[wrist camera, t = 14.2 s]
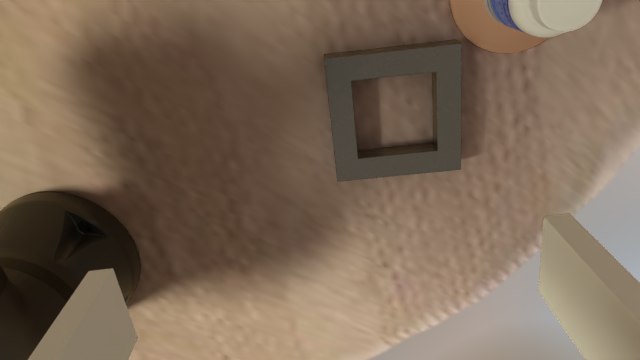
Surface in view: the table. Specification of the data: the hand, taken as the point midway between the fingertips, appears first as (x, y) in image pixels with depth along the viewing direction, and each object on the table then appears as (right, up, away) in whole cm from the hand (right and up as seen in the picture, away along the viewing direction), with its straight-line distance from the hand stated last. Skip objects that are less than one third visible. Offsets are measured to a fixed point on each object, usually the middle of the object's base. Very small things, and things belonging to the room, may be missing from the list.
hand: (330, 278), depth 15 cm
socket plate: (+6, +9, +29) cm, 31 cm away
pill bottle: (+15, +18, +24) cm, 34 cm away
